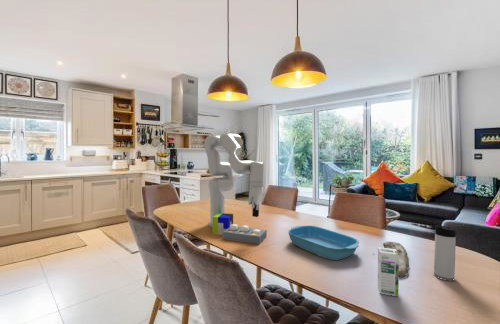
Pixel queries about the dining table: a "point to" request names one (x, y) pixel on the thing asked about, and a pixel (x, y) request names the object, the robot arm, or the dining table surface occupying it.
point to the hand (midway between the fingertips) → (255, 216)
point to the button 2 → (256, 231)
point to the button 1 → (233, 227)
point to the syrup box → (388, 271)
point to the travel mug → (444, 252)
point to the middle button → (245, 228)
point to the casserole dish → (323, 242)
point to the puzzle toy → (221, 222)
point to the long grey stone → (402, 256)
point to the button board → (245, 235)
